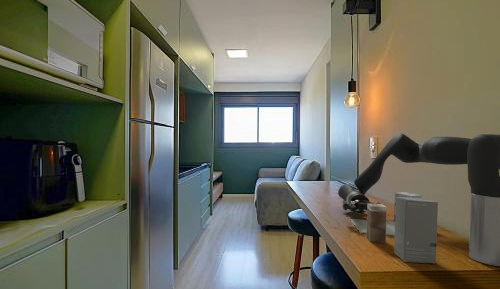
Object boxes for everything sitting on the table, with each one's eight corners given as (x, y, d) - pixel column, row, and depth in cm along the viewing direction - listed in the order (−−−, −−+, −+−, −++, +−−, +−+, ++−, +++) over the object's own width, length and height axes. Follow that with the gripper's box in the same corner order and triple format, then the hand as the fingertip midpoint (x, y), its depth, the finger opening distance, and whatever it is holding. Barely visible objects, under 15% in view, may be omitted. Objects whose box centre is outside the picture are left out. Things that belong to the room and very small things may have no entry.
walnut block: (381, 238, 96) (382, 204, 96) (385, 243, 91) (386, 207, 91) (366, 237, 96) (367, 203, 96) (370, 242, 92) (371, 206, 92)
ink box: (393, 221, 119) (394, 192, 119) (403, 221, 121) (404, 191, 121) (410, 227, 111) (411, 195, 111) (421, 226, 113) (422, 195, 113)
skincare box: (403, 262, 76) (405, 200, 76) (392, 252, 83) (393, 195, 83) (438, 264, 75) (440, 201, 75) (423, 254, 82) (425, 196, 83)
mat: (393, 223, 117) (393, 221, 117) (411, 236, 99) (411, 235, 99) (350, 220, 119) (350, 218, 119) (360, 233, 101) (360, 231, 101)
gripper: (339, 191, 122) (346, 198, 106) (376, 193, 120) (389, 201, 104) (338, 210, 122) (345, 220, 106) (375, 212, 120) (388, 222, 104)
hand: (367, 210), depth 105 cm, fingers open, 8 cm apart
